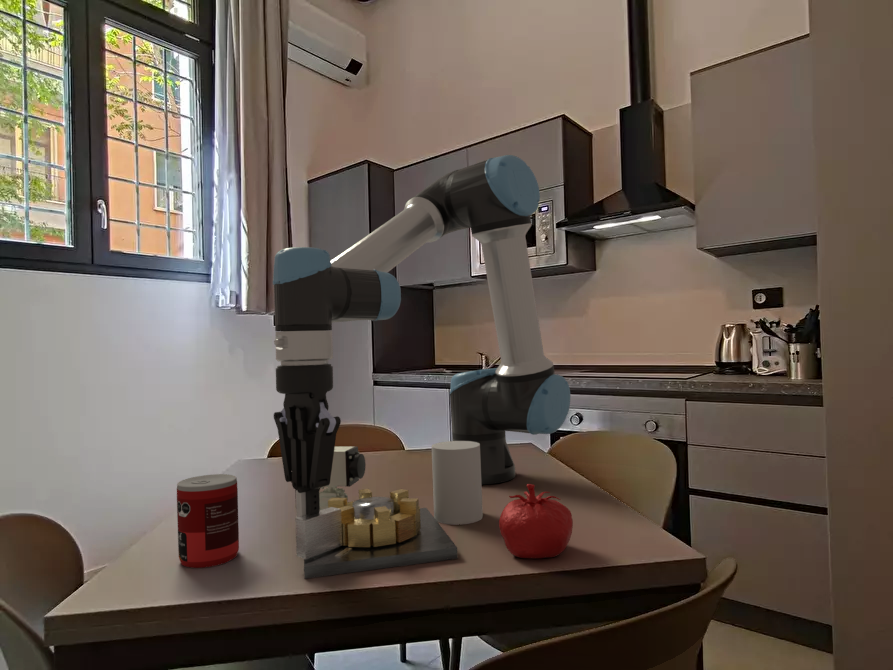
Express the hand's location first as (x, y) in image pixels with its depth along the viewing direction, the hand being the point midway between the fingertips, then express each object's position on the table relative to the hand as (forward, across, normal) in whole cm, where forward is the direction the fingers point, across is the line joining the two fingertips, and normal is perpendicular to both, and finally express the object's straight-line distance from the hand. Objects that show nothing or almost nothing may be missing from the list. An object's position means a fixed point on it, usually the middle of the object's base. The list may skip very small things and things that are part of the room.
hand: (308, 536), depth 77 cm
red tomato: (+3, +22, +22) cm, 31 cm away
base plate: (+3, +1, +10) cm, 11 cm away
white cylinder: (+4, +3, +27) cm, 28 cm away
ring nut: (+2, +1, +7) cm, 8 cm away
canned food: (+4, -13, -8) cm, 16 cm away
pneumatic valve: (+4, -19, +18) cm, 26 cm away
